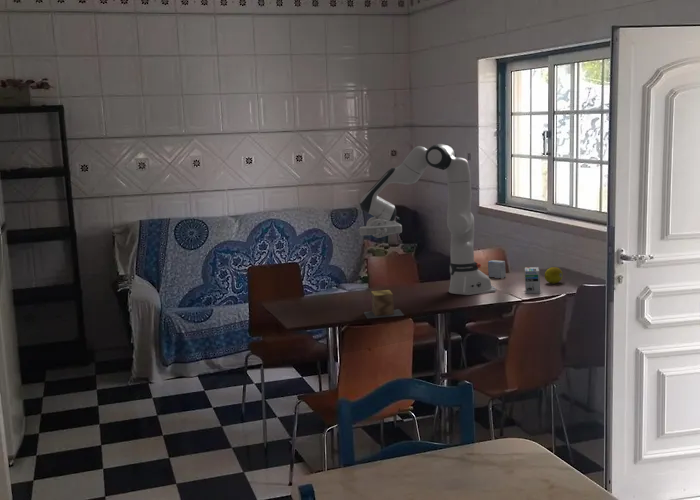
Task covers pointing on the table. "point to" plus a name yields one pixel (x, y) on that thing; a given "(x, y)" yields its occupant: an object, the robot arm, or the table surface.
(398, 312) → the charcoal mat
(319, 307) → the table surface
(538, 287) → the light bulb box
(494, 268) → the medicine box
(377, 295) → the letter block
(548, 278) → the lemon
